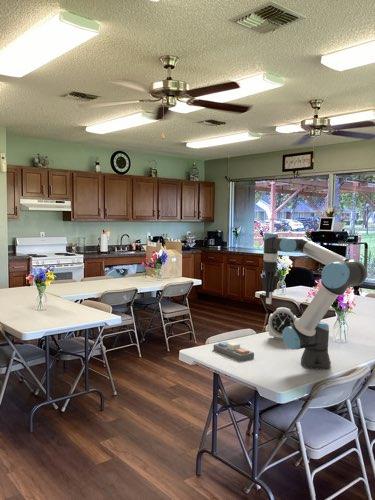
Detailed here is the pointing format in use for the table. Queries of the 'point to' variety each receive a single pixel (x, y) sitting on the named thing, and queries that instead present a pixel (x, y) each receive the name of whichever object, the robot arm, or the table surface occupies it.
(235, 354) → the key board
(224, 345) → the blue key
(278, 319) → the alarm clock
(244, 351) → the terracotta key
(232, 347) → the cream key
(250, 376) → the table surface
